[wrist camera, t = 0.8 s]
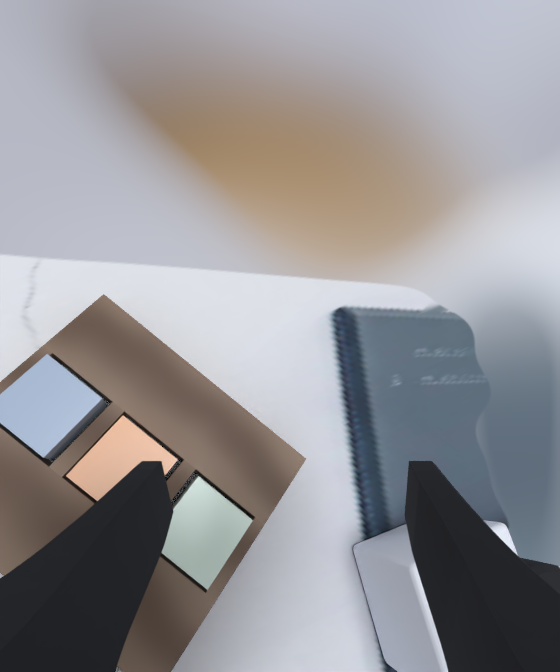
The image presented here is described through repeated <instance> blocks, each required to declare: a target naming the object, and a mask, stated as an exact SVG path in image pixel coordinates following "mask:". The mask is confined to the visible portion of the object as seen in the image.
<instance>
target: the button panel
mask: <svg viewBox="0 0 560 672" xmlns="http://www.w3.org/2000/svg"><path fill="white" fill-rule="evenodd" d="M46 354H48V355H49V356H50V357H52V358H53V359H54V360H55V361H57V362H58V363H59V364H60V365H63V366H65V367H66V368H67V369H68V370H69V371H71V372H72V373H73V374H74V375H76V376H77V377H78V378H79V379H81V380H82V381H83V382H84V383H86V384H87V385H88V386H89V387H90V388H92V389H93V390H94V391H95V392H97V393H98V394H99V395H100V396H102V397H103V398H104V399H105V400H107V401H108V402H109V403H110V405H109V406H108V407H107V408H106V409H105V410H104V411H103V412H102V413H101V414H100V415H99V416H98V417H97V418H96V419H95V420H94V421H93V422H92V423H91V424H90V425H89V426H88V427H87V428H86V429H85V430H84V431H83V433H82V434H81V435H80V436H79V437H78V438H77V439H76V440H75V441H74V442H73V443H72V444H71V445H70V446H69V447H68V448H67V449H66V450H65V451H64V452H63V453H62V454H61V455H60V456H59V457H58V458H57V459H56V460H55V461H54V462H53V463H52V462H51V461H50V460H48V459H47V458H43V457H42V456H41V455H39V454H38V453H37V452H36V451H34V450H33V449H32V448H31V447H29V446H28V445H27V444H26V443H24V442H23V441H22V440H21V439H20V438H18V437H17V436H16V435H15V434H13V433H12V432H11V431H10V430H8V429H7V428H6V427H5V426H3V425H2V424H1V423H0V573H1V574H2V575H4V576H5V575H6V574H8V573H9V572H10V571H12V570H13V569H14V568H16V567H17V566H19V565H20V564H21V563H23V562H24V561H25V560H27V559H28V558H30V557H31V556H32V555H33V554H35V553H36V552H37V551H39V550H40V549H41V548H43V547H44V546H45V545H46V544H48V543H49V542H50V541H51V540H53V539H54V538H55V537H56V536H57V535H59V534H60V533H61V532H62V531H63V530H65V529H66V528H67V527H68V526H69V525H71V524H72V523H73V522H74V521H75V520H77V519H78V518H79V517H80V516H81V515H83V514H84V513H85V512H86V511H87V510H88V509H89V508H90V507H92V506H93V505H94V504H95V503H96V502H97V500H95V499H94V498H93V497H92V496H90V495H89V494H88V493H87V492H85V491H84V490H83V489H82V488H80V487H79V486H78V485H77V484H75V483H74V482H73V481H72V480H70V479H69V478H68V477H67V476H66V475H67V474H68V473H69V472H70V471H71V470H72V469H73V468H74V467H75V466H76V465H77V464H78V462H79V461H80V460H81V459H82V458H83V457H84V456H85V455H86V454H87V453H88V452H89V451H90V450H91V449H92V448H93V447H94V445H95V444H96V443H97V442H98V441H99V440H100V439H101V438H102V437H103V436H104V435H105V434H106V433H107V432H108V431H109V430H110V429H111V427H112V426H113V425H114V424H115V423H116V422H117V421H118V420H119V419H120V418H121V417H122V416H125V417H126V418H127V417H128V418H129V419H130V420H131V421H132V422H134V423H135V424H136V425H137V426H139V427H140V428H141V429H142V430H144V431H145V432H146V433H147V434H149V435H150V436H151V437H152V438H153V439H155V440H156V441H157V442H158V443H160V444H161V445H162V446H163V447H165V448H166V449H167V450H168V451H170V452H171V453H172V454H173V455H174V456H176V457H177V458H178V459H179V460H181V461H182V462H181V463H180V464H179V465H178V467H177V468H176V469H175V470H174V472H173V473H172V474H171V475H170V477H169V478H168V479H167V480H166V483H167V487H168V491H169V495H170V500H172V499H173V498H174V497H175V495H176V494H177V493H178V491H179V490H180V489H181V488H182V486H183V485H184V484H185V482H186V481H187V480H188V479H189V477H190V476H191V475H192V473H193V472H195V473H197V474H198V475H199V476H200V477H202V478H203V479H204V480H205V481H207V482H208V483H209V484H210V485H212V486H213V487H214V488H215V489H216V490H218V491H219V492H220V493H221V494H223V495H224V496H225V497H226V498H228V499H229V500H230V501H231V502H233V503H234V504H235V505H236V506H237V507H239V508H240V509H241V510H242V511H244V512H245V513H246V515H247V516H248V517H249V518H251V519H252V520H253V521H252V523H251V524H250V526H249V527H248V529H247V530H246V532H245V533H244V535H243V537H242V538H241V540H240V541H239V543H238V544H237V546H236V547H235V549H234V550H233V552H232V553H231V555H230V556H229V558H228V559H227V561H226V563H225V564H224V566H223V567H222V569H221V570H220V572H219V573H218V575H217V576H216V578H215V579H214V581H213V582H212V584H211V585H210V587H209V589H208V590H207V589H206V588H205V587H203V586H202V585H201V584H200V583H198V582H197V581H196V580H195V579H193V578H192V577H191V576H190V575H188V574H187V573H186V572H185V571H183V570H182V569H181V568H180V567H178V566H177V565H176V564H175V563H174V562H172V561H171V560H170V559H169V558H167V557H166V556H165V555H164V554H162V553H161V555H160V558H159V560H158V562H157V565H156V567H155V570H154V572H153V575H152V577H151V580H150V582H149V584H148V587H147V589H146V592H145V594H144V596H143V599H142V601H141V604H140V606H139V609H138V611H137V613H136V616H135V618H134V621H133V623H132V625H131V628H130V630H129V633H128V636H127V638H126V641H125V644H124V646H123V649H122V652H121V655H120V658H119V661H118V664H117V667H119V668H120V669H121V670H122V671H124V672H171V671H172V669H173V667H174V666H175V664H176V663H177V661H178V660H179V658H180V656H181V655H182V653H183V652H184V650H185V649H186V647H187V645H188V644H189V642H190V641H191V639H192V637H193V636H194V634H195V633H196V631H197V630H198V628H199V626H200V625H201V623H202V622H203V620H204V619H205V617H206V615H207V614H208V612H209V611H210V609H211V608H212V606H213V604H214V603H215V601H216V600H217V598H218V597H219V595H220V593H221V592H222V590H223V589H224V587H225V586H226V584H227V582H228V581H229V579H230V578H231V576H232V575H233V573H234V571H235V570H236V568H237V567H238V565H239V564H240V562H241V560H242V559H243V557H244V556H245V554H246V553H247V551H248V549H249V548H250V546H251V545H252V543H253V542H254V540H255V538H256V537H257V535H258V534H259V532H260V531H261V529H262V527H263V526H264V524H265V523H266V521H267V520H268V518H269V516H270V515H271V513H272V512H273V510H274V509H275V507H276V505H277V504H278V502H279V501H280V499H281V498H282V496H283V494H284V493H285V491H286V490H287V488H288V487H289V485H290V483H291V482H292V480H293V479H294V477H295V476H296V474H297V472H298V471H299V469H300V468H301V466H302V465H303V463H304V461H305V460H306V458H304V457H303V456H302V455H301V454H300V453H298V452H297V451H296V450H295V449H293V448H292V447H291V446H290V445H288V444H287V443H286V442H285V441H284V440H282V439H281V438H280V437H279V436H277V435H276V434H275V433H274V432H273V431H271V430H270V429H269V428H268V427H266V426H265V425H264V424H263V423H261V422H260V421H259V420H258V419H257V418H255V417H254V416H253V415H252V414H250V413H249V412H248V411H247V410H245V409H244V408H243V407H242V406H241V405H239V404H238V403H237V402H236V401H234V400H233V399H232V398H231V397H229V396H228V395H227V394H226V393H225V392H223V391H222V390H221V389H220V388H218V387H217V386H216V385H215V384H213V383H212V382H211V381H210V380H209V379H207V378H206V377H205V376H204V375H202V374H201V373H200V372H199V371H198V370H196V369H195V368H194V367H193V366H191V365H190V364H189V363H188V362H186V361H185V360H184V359H183V358H182V357H180V356H179V355H178V354H177V353H175V352H174V351H173V350H172V349H170V348H169V347H168V346H167V345H166V344H164V343H163V342H162V341H161V340H159V339H158V338H157V337H156V336H154V335H153V334H152V333H151V332H150V331H148V330H147V329H146V328H145V327H143V326H142V325H141V324H140V323H138V322H137V321H136V320H135V319H134V318H132V317H131V316H130V315H129V314H127V313H126V312H125V311H124V310H123V309H121V308H120V307H119V306H118V305H116V304H115V303H114V302H113V301H111V300H110V299H109V298H108V297H107V296H105V295H102V296H101V297H100V298H99V299H98V300H96V301H95V302H94V303H93V304H92V305H91V306H89V307H88V308H87V309H86V310H85V311H83V312H82V313H81V314H80V315H79V316H78V317H76V318H75V319H74V320H73V321H72V322H71V323H69V324H68V325H67V326H66V327H65V328H63V329H62V330H61V331H60V332H59V333H58V334H56V335H55V336H54V337H53V338H52V339H50V340H49V341H48V342H47V343H46V344H45V345H43V346H42V347H41V348H40V349H39V350H38V351H36V352H35V353H34V354H33V355H32V356H30V357H29V358H28V359H27V360H26V361H25V362H23V363H22V364H21V365H20V366H19V367H17V368H16V369H15V370H14V371H13V372H12V373H10V374H9V375H8V376H7V377H6V378H4V379H3V380H2V381H1V382H0V394H1V393H2V392H4V391H5V390H6V389H7V388H8V387H9V386H11V385H12V384H13V383H14V382H15V381H16V380H17V379H19V378H20V377H21V376H22V375H23V374H24V373H26V372H27V371H28V370H29V369H30V368H31V367H33V366H34V365H35V364H36V363H37V362H38V361H39V360H41V359H42V358H43V357H44V356H45V355H46Z"/></svg>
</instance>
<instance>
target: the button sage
mask: <svg viewBox="0 0 560 672" xmlns="http://www.w3.org/2000/svg"><path fill="white" fill-rule="evenodd" d="M172 508H173V515H172V519H171V523H170V527H169V530H168V534H167V537H166V541H165V544H164V547H163V550H162V552H161V553H162V554H164V555H165V556H166V557H167V558H169V559H170V560H171V561H172V562H174V563H175V564H176V565H177V566H178V567H180V568H181V569H182V570H183V571H185V572H186V573H187V574H188V575H190V576H191V577H192V578H193V579H195V580H196V581H197V582H198V583H200V584H201V585H202V586H203V587H205V588H206V589H207V590H208V589H209V587H210V585H211V584H212V582H213V581H214V579H215V578H216V576H217V575H218V573H219V572H220V570H221V569H222V567H223V566H224V564H225V563H226V561H227V559H228V558H229V556H230V555H231V553H232V552H233V550H234V549H235V547H236V546H237V544H238V543H239V541H240V540H241V538H242V537H243V535H244V533H245V532H246V530H247V529H248V527H249V526H250V524H251V523H252V521H253V520H252V519H251V518H249V517H248V516H247V515H246V514H244V513H243V512H242V511H241V510H240V509H238V508H237V507H236V506H235V505H233V504H232V503H231V502H230V501H228V500H227V499H226V498H225V497H223V496H222V495H221V494H220V493H219V492H217V491H216V490H215V489H214V488H212V487H211V486H210V485H209V484H207V483H206V482H205V481H204V480H202V479H201V478H200V477H199V476H196V477H194V478H193V479H192V481H191V482H190V483H189V485H188V486H187V487H186V489H185V490H184V491H183V492H182V494H181V495H180V496H179V498H178V499H177V500H176V502H175V503H174V504H173V505H172Z"/></svg>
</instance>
